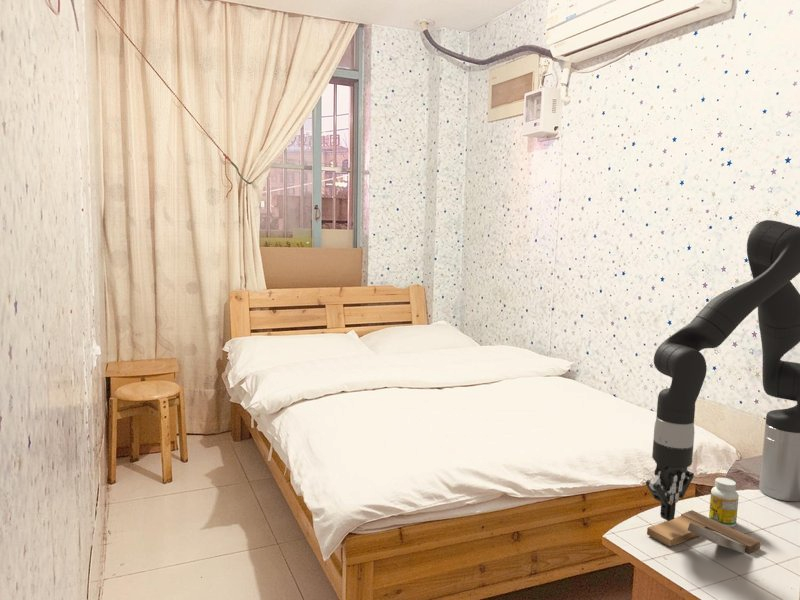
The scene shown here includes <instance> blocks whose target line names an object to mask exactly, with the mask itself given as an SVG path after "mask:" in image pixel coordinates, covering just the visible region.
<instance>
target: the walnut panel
mask: <svg viewBox="0 0 800 600" xmlns="http://www.w3.org/2000/svg"><path fill="white" fill-rule="evenodd" d="M680 516H684V517H687V518H689V519H691V520H693V521H695V522H697V523H699V524H701V525H703V526H706V529H709V530H712V531H715V532H718V533H720V534H723V535H725V536H727V537H729V538H731V539H733V540H735V541H737V542H739V543H742V544H744V545H746V548H745V551H744V553H746V554H748V555H750V554H752V553H754V552H755V551H758V550H760V549H761V540H759V539H756V538H755V537H752V536H750V535H747V534H745V533H743V532H741V531H738V530H736V529H734V528H733V527H731V528H730V527H728V526H726V525H724V524H721V523H719V522H717V521H715V520H713V519H710V518H709V516H706V515H705V514H701V513H699V512H697V511H695V510H692V509H691V510H688V511H685V512H684V513H681V514H680Z"/></svg>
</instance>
